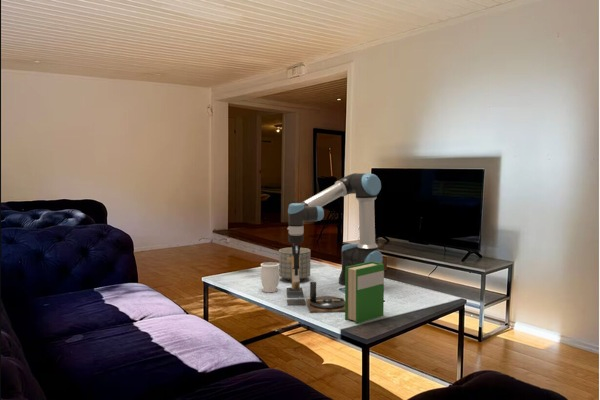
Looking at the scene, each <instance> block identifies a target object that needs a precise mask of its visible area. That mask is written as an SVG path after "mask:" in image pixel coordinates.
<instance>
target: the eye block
mask: <svg viewBox="0 0 600 400" xmlns="http://www.w3.org/2000/svg"><path fill="white" fill-rule="evenodd" d="M285 288H286V291H285V292H286V299H287V298H288V299H291V298H292V299H296V298H304V290H303V287H301V286H300V289H292V287H285Z"/></svg>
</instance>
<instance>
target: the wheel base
mask: <svg viewBox="0 0 600 400" xmlns="http://www.w3.org/2000/svg"><path fill="white" fill-rule="evenodd" d="M340 298H341V299H343V300H344V301H345V297H340ZM306 303H307V307H308V310H309V313H310V314H313V313H314V314H315V313H316V314H318V313H319V314H320V313H345V305H344V306H343V307H340V308H336V309H321V308H316V307H313V306H311V305H310V298H306Z"/></svg>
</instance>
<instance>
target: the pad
mask: <svg viewBox="0 0 600 400" xmlns="http://www.w3.org/2000/svg"><path fill="white" fill-rule="evenodd" d="M286 303H287V306H307V305H306V303H307V302H306V301H305V298H292V299H291V298H288V299H287V298H286Z"/></svg>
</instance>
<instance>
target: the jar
mask: <svg viewBox="0 0 600 400" xmlns="http://www.w3.org/2000/svg"><path fill="white" fill-rule="evenodd" d="M260 267H261V269H260V280H261V286H262V291H263V292H264V293H275V292H278V290H279V289H278V285H279V283H280V276H279V262H273V261H268V262H267V261H266V262H262V263H260Z"/></svg>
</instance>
